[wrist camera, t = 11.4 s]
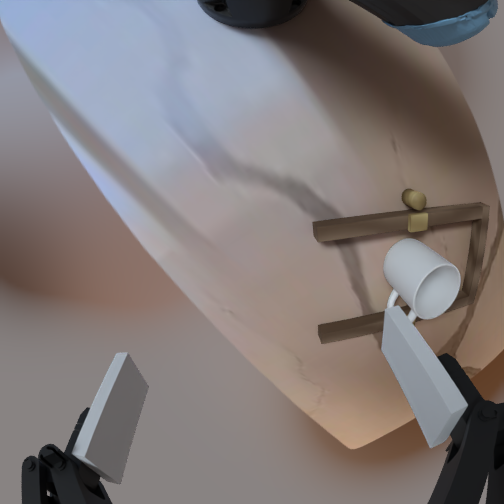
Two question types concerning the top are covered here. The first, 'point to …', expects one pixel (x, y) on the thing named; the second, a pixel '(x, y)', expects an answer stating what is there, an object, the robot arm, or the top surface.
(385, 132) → the top surface
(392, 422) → the top surface
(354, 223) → the track
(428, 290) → the cup
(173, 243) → the top surface
